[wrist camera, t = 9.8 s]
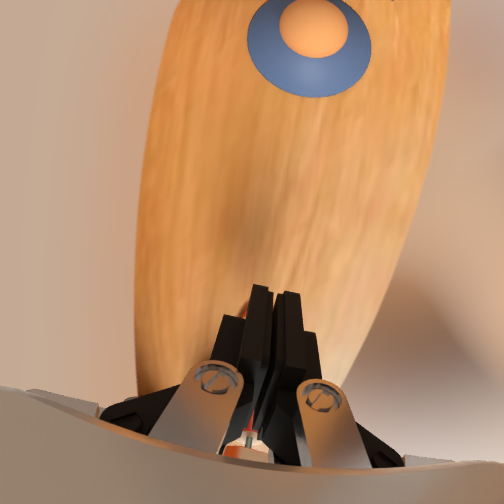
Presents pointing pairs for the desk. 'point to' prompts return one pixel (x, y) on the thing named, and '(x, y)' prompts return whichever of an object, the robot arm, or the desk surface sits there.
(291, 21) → the ball
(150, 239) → the desk surface
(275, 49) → the mark
